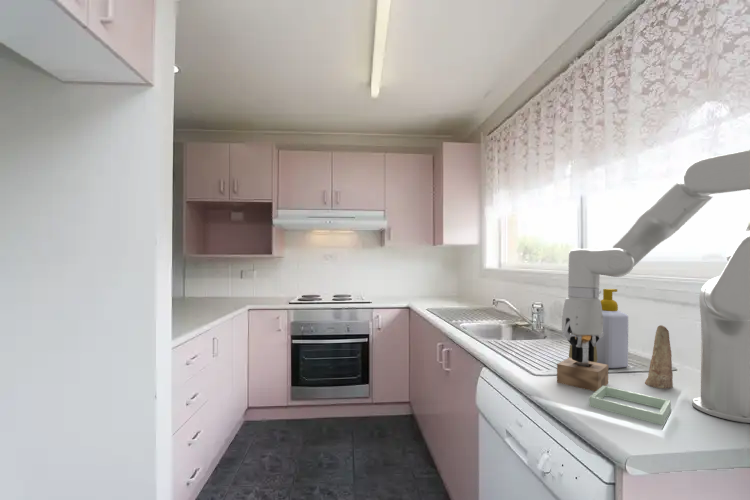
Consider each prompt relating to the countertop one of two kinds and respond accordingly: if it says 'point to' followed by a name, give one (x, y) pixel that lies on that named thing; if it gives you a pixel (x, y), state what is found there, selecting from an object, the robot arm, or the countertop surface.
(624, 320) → the soap bottle
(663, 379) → the tapered stone wedge
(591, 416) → the countertop surface
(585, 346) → the pin
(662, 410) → the tray
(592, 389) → the socket block
